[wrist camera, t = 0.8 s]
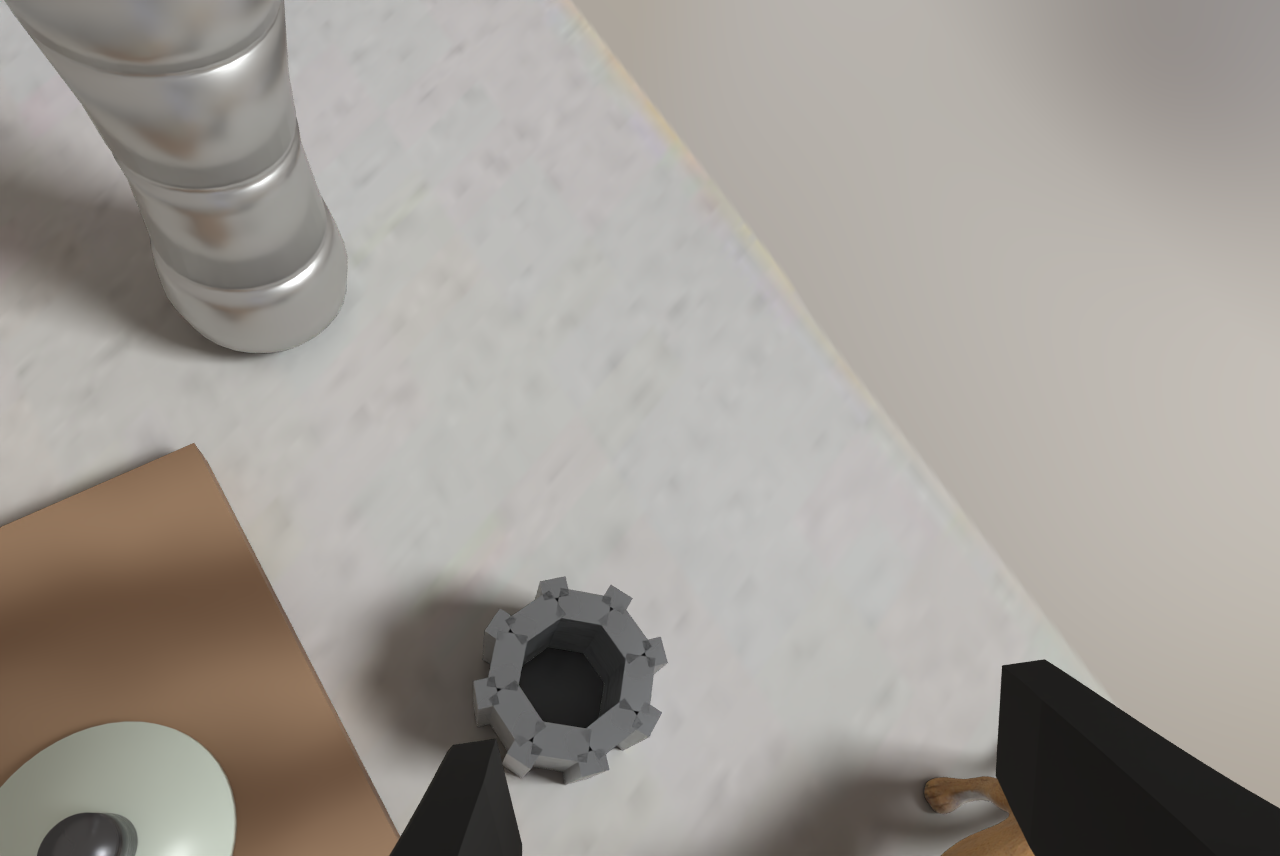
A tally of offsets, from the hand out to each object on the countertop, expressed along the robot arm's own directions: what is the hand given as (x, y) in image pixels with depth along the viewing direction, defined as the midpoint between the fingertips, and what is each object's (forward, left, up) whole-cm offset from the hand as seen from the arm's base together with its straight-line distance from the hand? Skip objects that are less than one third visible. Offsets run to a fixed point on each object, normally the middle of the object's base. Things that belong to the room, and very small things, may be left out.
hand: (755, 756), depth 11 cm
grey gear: (+3, +2, -17) cm, 17 cm away
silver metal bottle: (+16, +16, -17) cm, 28 cm away
